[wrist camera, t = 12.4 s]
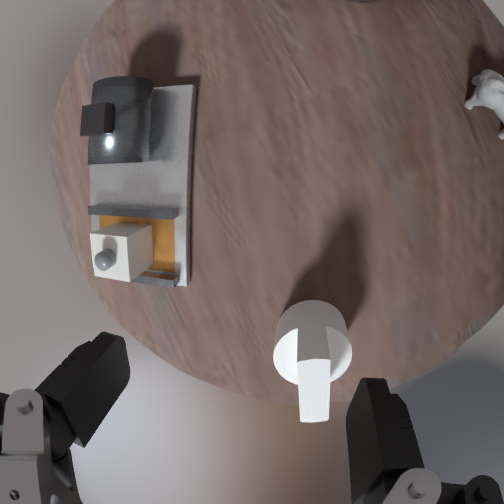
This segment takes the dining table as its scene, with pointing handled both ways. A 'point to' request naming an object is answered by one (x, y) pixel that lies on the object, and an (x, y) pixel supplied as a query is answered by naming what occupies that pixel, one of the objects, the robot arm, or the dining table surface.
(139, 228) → the cube with round knob
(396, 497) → the robot arm
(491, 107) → the dog figurine
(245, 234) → the dining table surface
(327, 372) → the white appliance knob
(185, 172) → the motor mount
